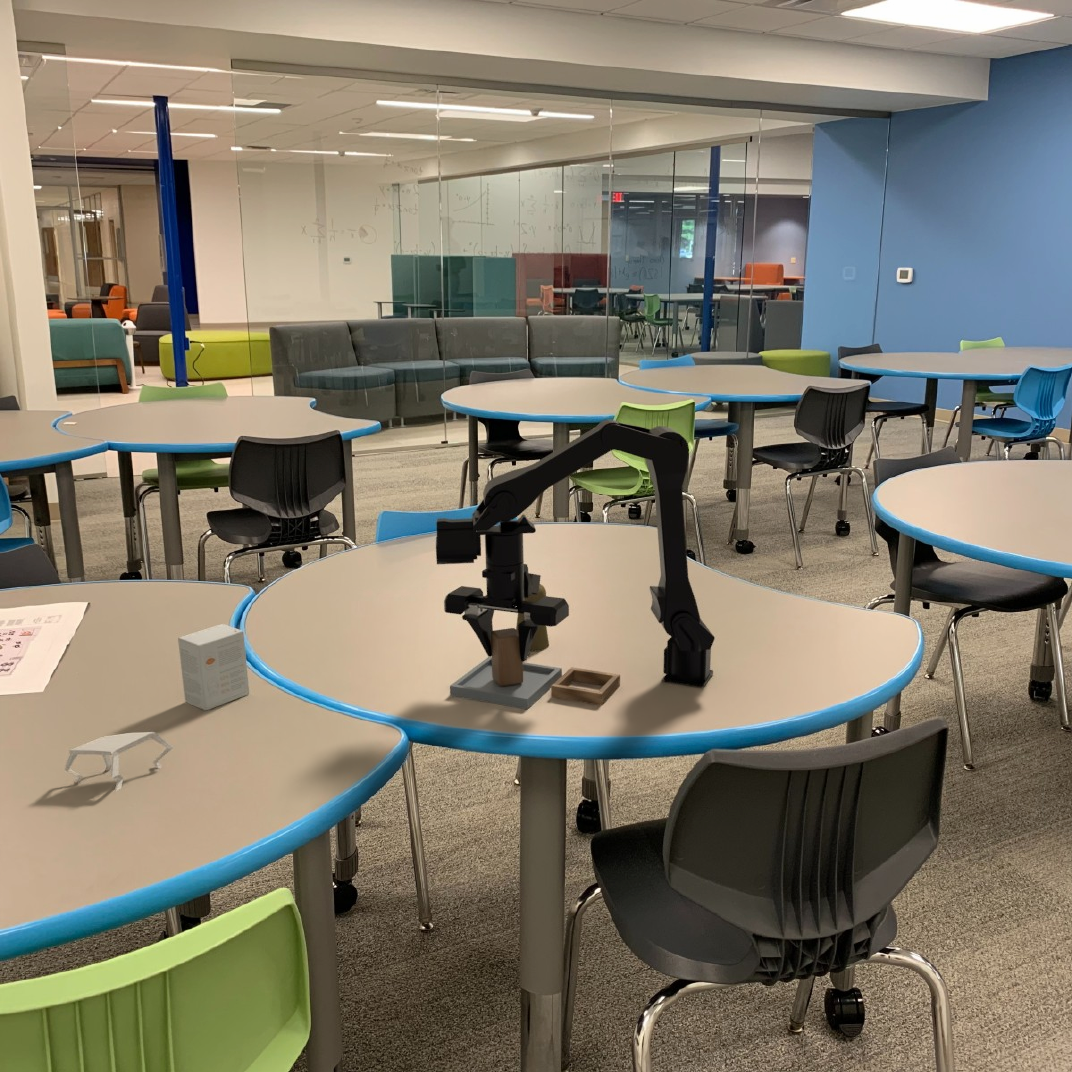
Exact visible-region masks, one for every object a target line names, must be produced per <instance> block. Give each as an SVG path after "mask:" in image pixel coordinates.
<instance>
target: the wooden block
mask: <svg viewBox="0 0 1072 1072" xmlns="http://www.w3.org/2000/svg"><path fill="white" fill-rule="evenodd" d="M491 651H492V656H491V657H492V677H493V679H494V680H495V681H496V683H497V684H498V685H499V686H507V685H514V684H520V683H523V662H522V661H521V657H520V648H519V633H518V631H517V630H516V627H508V628H502V629H496V630H495V629H493V631H491Z"/></svg>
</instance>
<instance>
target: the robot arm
mask: <svg viewBox="0 0 1072 1072" xmlns="http://www.w3.org/2000/svg"><path fill="white" fill-rule="evenodd" d="M614 450H615V451H619V452H622V453H626V454H629V455H631V456H635V457H639V458H641V459H645V464H646V468H647V471H648V473H649V476H650V479H651V483H652V485H653V490H654V499H655V500H654V502H655V514H656V528H657V541H658V554H659V567H660V577H659V581H658V585H657V586H655V585H650V586H649V591H650V596H651V599H652V600H651V607H650V611H651V612H652V614H653V615H654V617H655V619H656V620H657V622H658V623H659V624H661V626H662V627H663V629H664V631H665V632H666V634H667V635H668V636H670V638H669V639H668V640H667V641H666V642H667V643H666V647H665V648H664V649H663V674H664V676H663V678H662V681H663V682H666V683H671V684H672V683H673V684H678V685H686V686H691V687H698V688H704V687H705V686H706V684H707V683H708V682H709V679H710V678H712V676H713V674H714V670H713V669H711V659H712V657H711V656H712V655H711V654H712V647H713V644H714V641H715V636H714V634H713V633H712V632H711V630H710V629H709V627H708V626H707V625H706V624H705V622H704V621H703V620H702V619H701V615H700V612H699V608H698V603H697V599H696V597H695V594H694V590H693V588H692V585H691V582H690V579H689V570H688V569H689V568H688V553H687V542H686V540H687V539H686V528H685V527H686V525H685V509H684V498H683V489H684V484H685V481H686V477H687V473H688V468H689V467H688V464H689V456H690V455H689V454H690V446H689V443H688V441H687V439H686V438H685V437H684V436H682V435H681V434H680V433H679V432H677V431H676V430H674V429H673V428H671V427H669V426H666V425H658V426H655V427H652V428H647V427H643V426H639V425H634V424H630V423H629V424H627V423H623V422H619V421H617V420H614V419H612V418H610V419H609V418H608V419H604V420H602V421H600V422H599V423H598V424H597V425H596V426H595V427H593V428H592V429H589V431H587V432H584V433H583V434H582V435H580V436H578V437H576V438H575V439H573V440H572V441H569V442H568V443H566V444H565V445H563V446H561V447H559V448H558V449H556V450H555V451H552V452H551V453H550V454H547V455H545V457H543V458H541V459H539V460H538V461H536V462H535V463H533V464H530V465H528V466H525V467H521V468H517V469H513V470H510V471H508V472H504V473H503V474H499V475H496V476H494V477H492V478H491V479H489V481H487V483H486V484H485V486H484V489H483V492H482V495H483V498H482V500H481V501H480V503H479V505H478V506H477V507H476V509H475V510H474V512H472V515H471V518H456V519H455V518H454V519H452V518H445V517H444V518H441V517H440V518H437V519H436V523H435V524H436V537H435V554H436V555H435V558H436V565H454V564H455V565H456V564H457V565H458V564H474V563H475V560H478V557H481V556H482V542H481V541H482V540H481V539H482V538H481V536H484V543H485V544H484V545H485V548H484V549H485V569H483V570H482V571H481V575H482V578H484V579H485V581H486V582H485V583H486V595H484V591H483V590H482V588H479V587H474V586H465V585H461V586H459V587H458V588H456V589H455V590H453V591H450V592H449V593H448V594H447V595H445V597H444V600H443V606H444V612H445V613H446V614H447V613H448V614H453V615H454V614H455V615H461V619H462V621H466V622H467V623H468V625H469V626H470V627H471V629H472V630H473V631H474V633H475V635H476V637H477V638H478V640H479V642H480V644H481V646H482V647H483V649H484V652H485V653H486V655H487V657H492V651H491V631H494V625H493V617H494V613H495V611H497V612H498V611H500V612H506V613H507V612H508V613H515V614H518V613H522V614H524V617H525V620H524V621H522V622H521V623H519V624H518V633H519V648H520V657H521V661H522V662H526V661H527V659H528V658H529V657H528V656H529V654H530V652H531V651H530V648H531V645H532V642H533V639H534V636H535V634H536V632H537V630H538V628H539V627H540V626H541V625H542V626H546V627H557V626H558V625H559V624H560V623H561V622H563V621H564V620H565V619H566V618H568V617H569V616H570V605H569V603H568V601H566V599H565V598H563V597H556V596H555V597H554V596H549V595H548V596H547V595H546V596H544V597H542V598H541V599H539V600H538V601H537V602H528V601H525V600H524V599H525V598H529V597H531V596H532V594H535V595H538V593H539V585H540V584H541V577H542V576H541V574H537V573H532V572H531V573H529V567H528V564H526V563H524V562H525V560H524V534H534V533H536V531H537V530H536V527H535V524H534V523H533V522H532V521H530V520H529V519H528V518H527V516H526V514H524V513H523V512H524V511H526V510H527V509H528V508H529V507H530V506H532V505H533V503H534V502H535V501H536V500H538V498H539V497H540V496H541V495H542V494H543V493H544V492H545V491H546V490H548V489H549V488H550V487H552V486H554V485H556V484H557V483H559V482H561V481H563V480H564V479H566V478H567V477H569V476H571V475H572V474H575V473H576V472H578V471H580V470H581V469H582V468H585V467H586V466H587V465H589V464H591V463H593V462H594V461H596V460H597V459H600V458H601V457H603V456H604V455H607V454H608V453H609V452H612V451H614ZM522 513H523V514H522ZM520 515H521V516H520ZM518 516H520V517H519V518H517V517H518ZM516 518H517V519H516ZM515 519H516V520H515ZM462 614H463V615H462Z"/></svg>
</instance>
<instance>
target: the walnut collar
mask: <svg viewBox="0 0 1072 1072" xmlns="http://www.w3.org/2000/svg"><path fill="white" fill-rule="evenodd" d="M574 681H575V682H581V683H589V684H596V685H600V686H602V687H601V688H600V689H599V690H592V689H586V688H581V687H575V686H570V685H571V684H572V683H573V682H574ZM620 686H621V675H620V674H618V673H610V672H604V671H599V670H592V669H587V668H578V667H573V666H572V667H570V668H569V669H568V670H567V671H566V672H565V673H564V674H562V676H561V677H560V678H559V679H558V680H557V681H556V682H555V683H554V684H553V685H552V686H551V688H550V690H551V693H550V694H551V698H556V699H561V700H567V701H574V702H579V703H586V704H591V705H598V706H602V705H603V704H604V703H606V701H607V700H608V699H609V698H610V697H611V696H612V695H613V694H614V693H615V691H616V690H617V689H618V688H619V687H620Z"/></svg>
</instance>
